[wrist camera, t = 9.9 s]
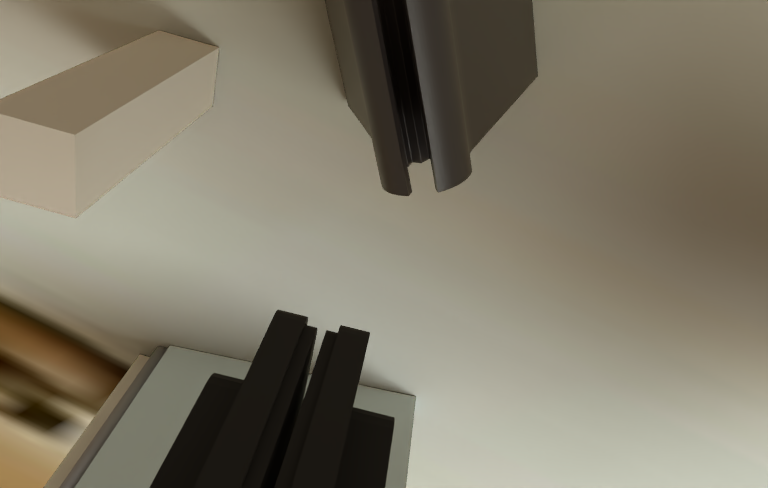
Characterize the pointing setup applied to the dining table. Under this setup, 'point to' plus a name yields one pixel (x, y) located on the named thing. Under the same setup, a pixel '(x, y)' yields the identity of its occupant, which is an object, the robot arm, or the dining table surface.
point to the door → (171, 408)
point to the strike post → (101, 120)
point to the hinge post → (95, 424)
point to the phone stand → (431, 77)
